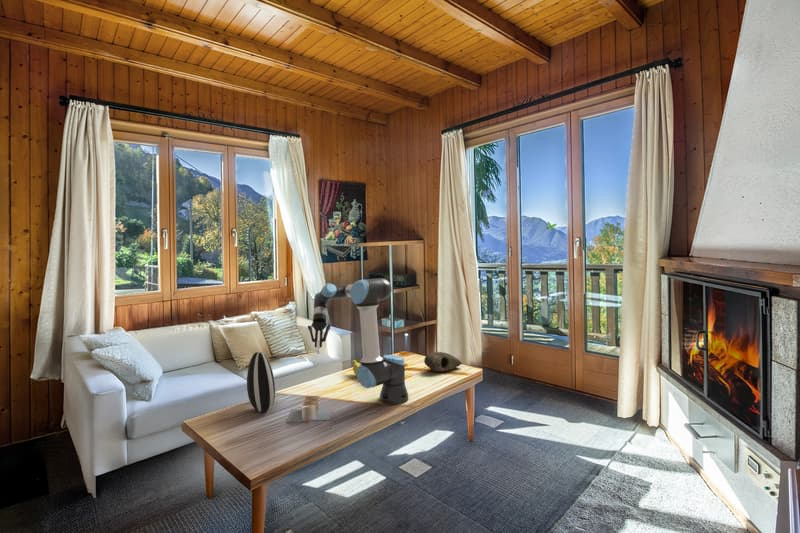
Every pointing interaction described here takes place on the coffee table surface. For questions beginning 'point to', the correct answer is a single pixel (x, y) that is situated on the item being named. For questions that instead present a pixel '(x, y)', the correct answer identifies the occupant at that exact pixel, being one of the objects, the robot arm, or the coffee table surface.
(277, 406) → the coffee table surface
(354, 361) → the fruit
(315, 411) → the block
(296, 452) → the coffee table surface
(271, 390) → the sunflower seed
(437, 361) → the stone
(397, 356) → the robot arm
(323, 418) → the mat
